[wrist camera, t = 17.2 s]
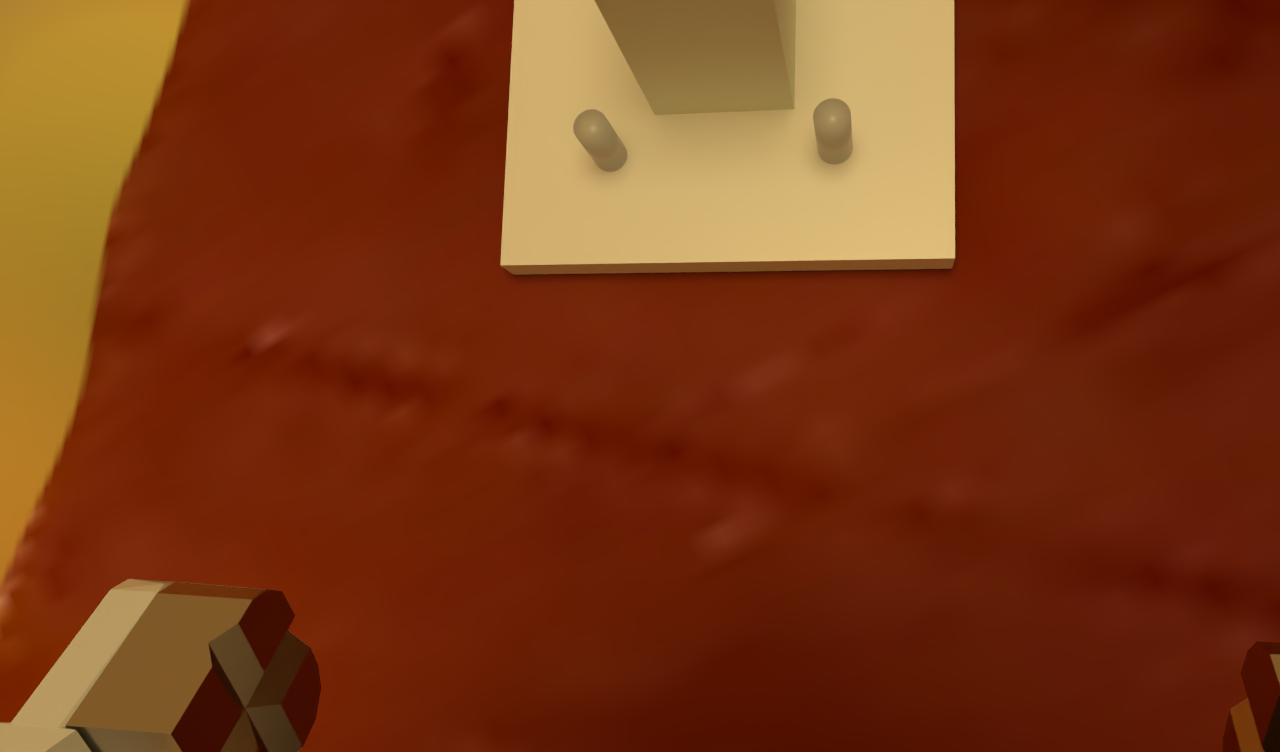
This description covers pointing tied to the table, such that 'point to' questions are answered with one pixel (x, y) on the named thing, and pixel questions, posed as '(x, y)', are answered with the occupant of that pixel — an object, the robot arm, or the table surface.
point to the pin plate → (734, 152)
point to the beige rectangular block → (708, 52)
